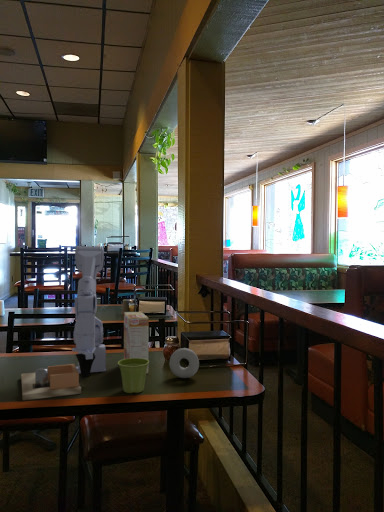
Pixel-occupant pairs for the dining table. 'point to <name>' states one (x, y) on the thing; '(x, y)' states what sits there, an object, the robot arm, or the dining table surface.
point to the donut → (180, 370)
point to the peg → (41, 378)
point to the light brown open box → (63, 376)
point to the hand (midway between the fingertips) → (85, 377)
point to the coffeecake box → (136, 335)
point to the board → (43, 389)
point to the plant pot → (133, 374)
